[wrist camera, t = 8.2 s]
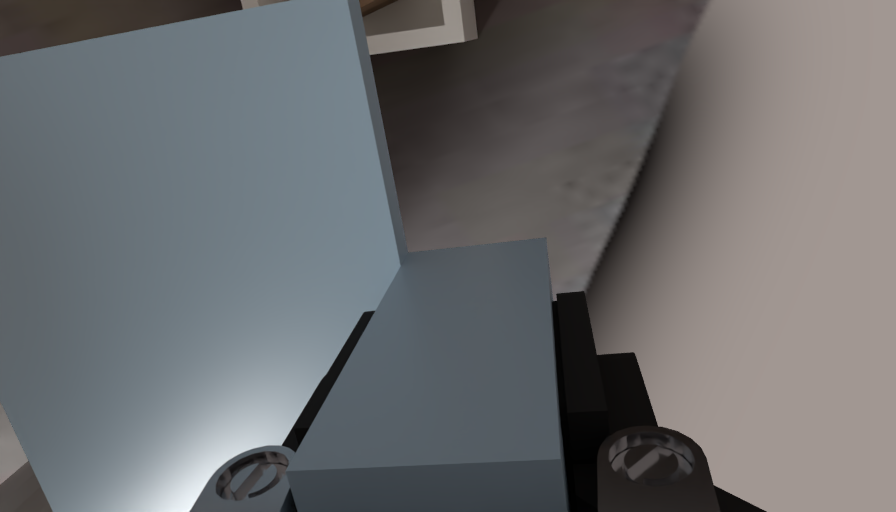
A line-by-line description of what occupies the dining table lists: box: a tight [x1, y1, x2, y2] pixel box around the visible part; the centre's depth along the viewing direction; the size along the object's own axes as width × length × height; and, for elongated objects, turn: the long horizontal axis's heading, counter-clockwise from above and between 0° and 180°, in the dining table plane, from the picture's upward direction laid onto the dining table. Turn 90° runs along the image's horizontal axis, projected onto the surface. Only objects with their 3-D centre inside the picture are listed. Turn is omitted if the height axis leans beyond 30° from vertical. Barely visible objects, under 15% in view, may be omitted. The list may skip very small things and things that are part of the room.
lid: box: [0, 0, 571, 512], centre depth 11 cm, size 15×14×8 cm
